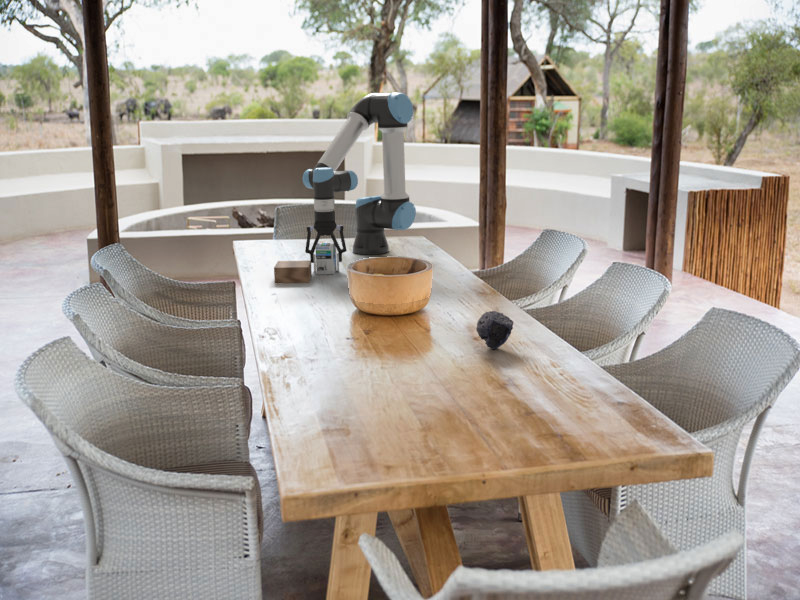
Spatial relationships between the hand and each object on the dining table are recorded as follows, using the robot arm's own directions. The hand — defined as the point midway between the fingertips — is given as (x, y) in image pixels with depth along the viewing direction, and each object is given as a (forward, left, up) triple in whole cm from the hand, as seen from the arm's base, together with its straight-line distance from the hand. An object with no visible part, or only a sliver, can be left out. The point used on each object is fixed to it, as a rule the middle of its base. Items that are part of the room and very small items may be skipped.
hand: (326, 270), depth 311 cm
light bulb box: (0, 0, -1) cm, 1 cm away
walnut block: (+12, +12, -1) cm, 17 cm away
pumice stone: (-42, +104, 0) cm, 112 cm away
